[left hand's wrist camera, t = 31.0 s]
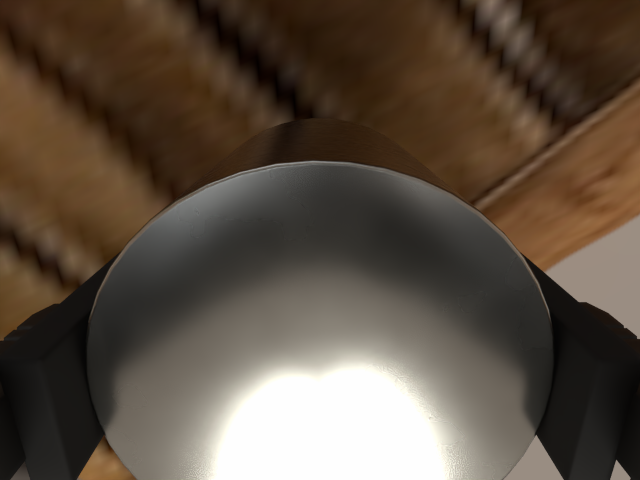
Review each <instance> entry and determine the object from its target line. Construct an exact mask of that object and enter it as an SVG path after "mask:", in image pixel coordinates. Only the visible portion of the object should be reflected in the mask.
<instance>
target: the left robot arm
mask: <svg viewBox="0 0 640 480" xmlns="http://www.w3.org/2000/svg"><path fill="white" fill-rule="evenodd" d="M520 253H521V252H520ZM119 254H120V253H118V254H117V255H116V256H115V257H114V258H113V259H111V260H110V261H109V262H108V263H107V264H106V265H104V266H103V267H102V268H101V269H100V270H99V271H97V272H96V273H95V274H94V275H93V276H92V277H90V278H89V279H88V280H87V281H86V282H85V283H83V284H82V285H81V286H80V287H79V288H78V289H76V290H75V291H74V292H73V293H72V294H71V295H69V296H68V297H67V298H66V299H65V300H64V301H62V302H61V303H60V304H53V305H51V306H49V307H47V308H45V309H43V310H41V311H39V312H37V313H35V314H33V315H32V316H30V317H29V318H28V319H27V320H25V321H24V322H23V323H22V324H21V325H19V326H18V327H17V330H13V331H12V332H11V333H9V334H8V335H7V336H6V337H5V338H4V341H0V480H10V479H11V478H12V477H13V475H14V474H15V473H16V471H17V470H18V469H19V468H20V466H21V465H22V464H23V462H24V461H25V464H26V467H27V470H28V473H29V477H30V480H77V478H78V476H79V475H80V473H81V471H82V470H83V468H84V467H85V465H86V463H87V462H88V460H89V458H90V457H91V455H92V453H93V452H94V450H95V448H96V447H97V445H98V444H99V442H100V440H101V439H102V437H103V435H104V433H103V431H102V429H101V427H100V425H99V423H98V420H97V417H96V414H95V411H94V408H93V406H92V403H91V400H90V396H89V390H88V384H87V379H86V373H85V343H86V336H87V329H88V322H89V317H90V314H91V311H92V308H93V304H94V301H95V298H96V295H97V292H98V290H99V288H100V286H101V284H102V282H103V280H104V278H105V276H106V274H107V272H108V270H109V268H110V266H111V265H112V263H113V262H114V261H115V259H116V258H117V257H118V255H119ZM521 254H522V253H521ZM522 255H523V254H522ZM523 257H524V258H525V260H526V262H527V263H528V265H529V267H530V269H531V270H532V272H533V274H534V275H535V277H536V279H537V280H538V282H539V285H540V288H541V290H542V293H543V295H544V298H545V300H546V303H547V306H548V309H549V313H550V318H551V323H552V327H553V332H554V343H555V370H554V379H553V388H552V392H551V395H550V399H549V402H548V406H547V410H546V413H545V415H544V418H543V420H542V422H541V424H540V427H539V429H538V431H537V434H536V435H537V436H538V438H539V440H540V441H541V443H542V445H543V446H544V448H545V450H546V451H547V453H548V455H549V456H550V458H551V459H552V461H553V463H554V464H555V466H556V468H557V469H558V471H559V472H560V474H561V476H562V477H563V479H564V480H610V478H611V475H612V471H613V468H614V465H615V462H616V460H617V461H618V462H619V463H620V465H621V466H622V467H623V469H624V470H625V471H626V472H627V474H628V475H629V476H630V478H631V479H630V480H640V339H637V336H636V335H635V334H633V333H632V332H631V331H630V330H628V329H627V328H624V326H623V325H622V324H621V323H620V322H618V321H617V320H616V319H615V318H614V317H612V316H611V315H610V314H609V313H607V312H605V311H603V310H601V309H599V308H597V307H595V306H593V305H591V304H589V303H587V302H578V301H577V300H575V299H574V298H573V297H572V296H571V295H570V294H568V293H567V292H566V291H565V290H564V289H563V288H561V287H560V286H559V285H558V284H557V283H556V282H554V281H553V280H552V279H551V278H550V277H549V276H547V275H546V274H545V273H544V272H543V271H542V270H540V269H539V268H538V267H537V266H536V265H535V264H533V263H532V262H531V261H530V260H529V259H528V258H526V257H525V256H524V255H523Z"/></svg>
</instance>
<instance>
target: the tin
mask: <svg viewBox="0 0 640 480" xmlns="http://www.w3.org/2000/svg"><path fill="white" fill-rule="evenodd" d="M554 370H555V343H554V332H553V327H552V323H551V318H550V313H549V309H548V306H547V303H546V300H545V298H544V295H543V293H542V290H541V288H540V285H539V282H538V280H537V279H536V277H535V275H534V274H533V272H532V270H531V269H530V267H529V265H528V263H527V262H526V260H525V258H524V257H523V255H522V254H521V253H520V252H519V250H518V249H517V248H516V247H515V246H514V244H513V243H512V242H511V241H510V240H509V238H508V237H507V236H506V235H505V233H504V232H503V231H501V230H500V229H499V228H498V227H497V226H496V225H495V224H494V223H492V222H491V221H490V220H489V219H488V218H487V217H486V216H485V215H484V214H482V213H481V212H480V211H479V210H478V209H477V208H475V207H474V206H473V205H472V204H470V203H469V202H468V201H467V200H466V199H464V198H463V197H462V196H461V195H459V194H458V193H457V192H456V191H455V190H453V189H452V188H451V187H450V186H448V185H447V184H446V183H445V182H443V181H442V180H441V179H440V178H439V177H437V176H436V175H435V174H434V173H432V172H431V171H430V170H429V169H428V168H426V167H425V166H424V165H423V164H421V163H420V162H419V161H418V160H417V159H415V158H414V157H413V156H412V155H410V154H409V153H408V152H407V151H406V150H404V149H403V148H402V147H401V146H399V145H398V144H397V143H395V142H394V141H392V140H391V139H389V138H388V137H386V136H385V135H383V134H381V133H379V132H377V131H375V130H373V129H370V128H368V127H365V126H362V125H359V124H356V123H353V122H348V121H343V120H337V119H323V118H314V119H303V120H296V121H292V122H288V123H284V124H280V125H278V126H275V127H272V128H270V129H267V130H265V131H263V132H261V133H259V134H258V135H256V136H254V137H252V138H250V139H249V140H248V141H246V142H245V143H244V144H242V145H241V146H240V147H238V148H237V149H236V150H234V151H233V152H232V153H231V154H230V155H228V156H227V157H226V158H225V159H223V160H222V161H221V162H220V163H219V164H217V165H216V166H215V167H214V168H212V169H211V170H210V171H209V172H208V173H206V174H205V175H204V176H203V177H202V178H200V179H199V180H198V181H197V182H195V183H194V184H193V185H192V186H191V187H189V188H188V189H187V190H186V191H184V192H183V193H182V194H181V195H180V196H178V197H177V198H176V199H175V200H173V201H172V202H171V203H170V204H169V205H167V206H166V207H165V208H164V209H163V210H161V211H160V212H159V213H158V214H156V215H155V216H154V217H153V218H152V219H150V220H149V221H148V222H147V223H146V224H145V225H144V226H143V227H142V228H141V229H140V230H139V231H138V232H137V233H136V234H135V235H134V236H133V238H132V239H131V240H130V241H129V242H128V243H127V244H126V246H125V247H124V248H123V250H122V251H121V252H120V254H119V255H118V257H117V258H116V259H115V261H114V262H113V263H112V265H111V266H110V268H109V270H108V272H107V274H106V276H105V278H104V280H103V282H102V284H101V286H100V288H99V290H98V292H97V295H96V298H95V301H94V304H93V308H92V311H91V314H90V317H89V322H88V329H87V336H86V343H85V373H86V379H87V384H88V390H89V396H90V400H91V403H92V406H93V408H94V411H95V414H96V417H97V420H98V423H99V425H100V427H101V429H102V431H103V433H104V435H105V437H106V438H107V440H108V442H109V444H110V446H111V447H112V449H113V450H114V452H115V453H116V454H117V456H118V457H119V459H120V460H121V462H122V463H123V465H124V466H125V467H126V468H127V469H128V470H129V471H130V472H131V473H132V475H133V476H134V477H135V478H136V479H137V480H503V479H504V478H505V477H506V476H507V475H508V474H509V473H510V471H511V470H512V469H513V468H514V466H515V465H516V464H517V463H518V462H519V460H520V459H521V458H522V457H523V455H524V453H525V452H526V450H527V448H528V447H529V445H530V444H531V442H532V440H533V439H534V437H535V436H536V434H537V431H538V429H539V427H540V424H541V422H542V420H543V418H544V415H545V413H546V410H547V406H548V402H549V399H550V395H551V392H552V388H553V379H554Z"/></svg>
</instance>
